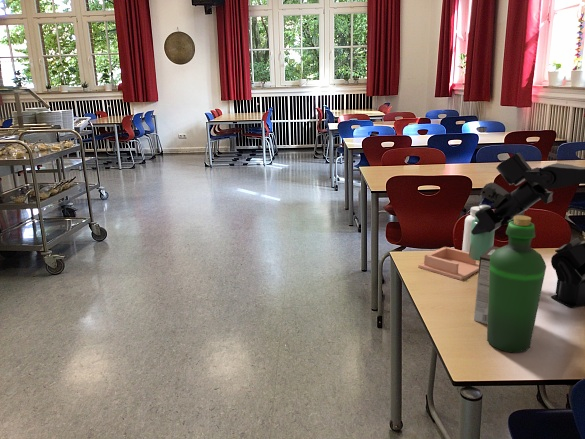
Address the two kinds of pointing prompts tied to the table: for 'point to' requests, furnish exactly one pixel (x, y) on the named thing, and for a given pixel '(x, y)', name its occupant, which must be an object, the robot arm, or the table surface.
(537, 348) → the table surface
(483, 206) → the bottle
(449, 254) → the u rest
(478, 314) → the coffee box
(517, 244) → the bottle
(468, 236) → the pill bottle
